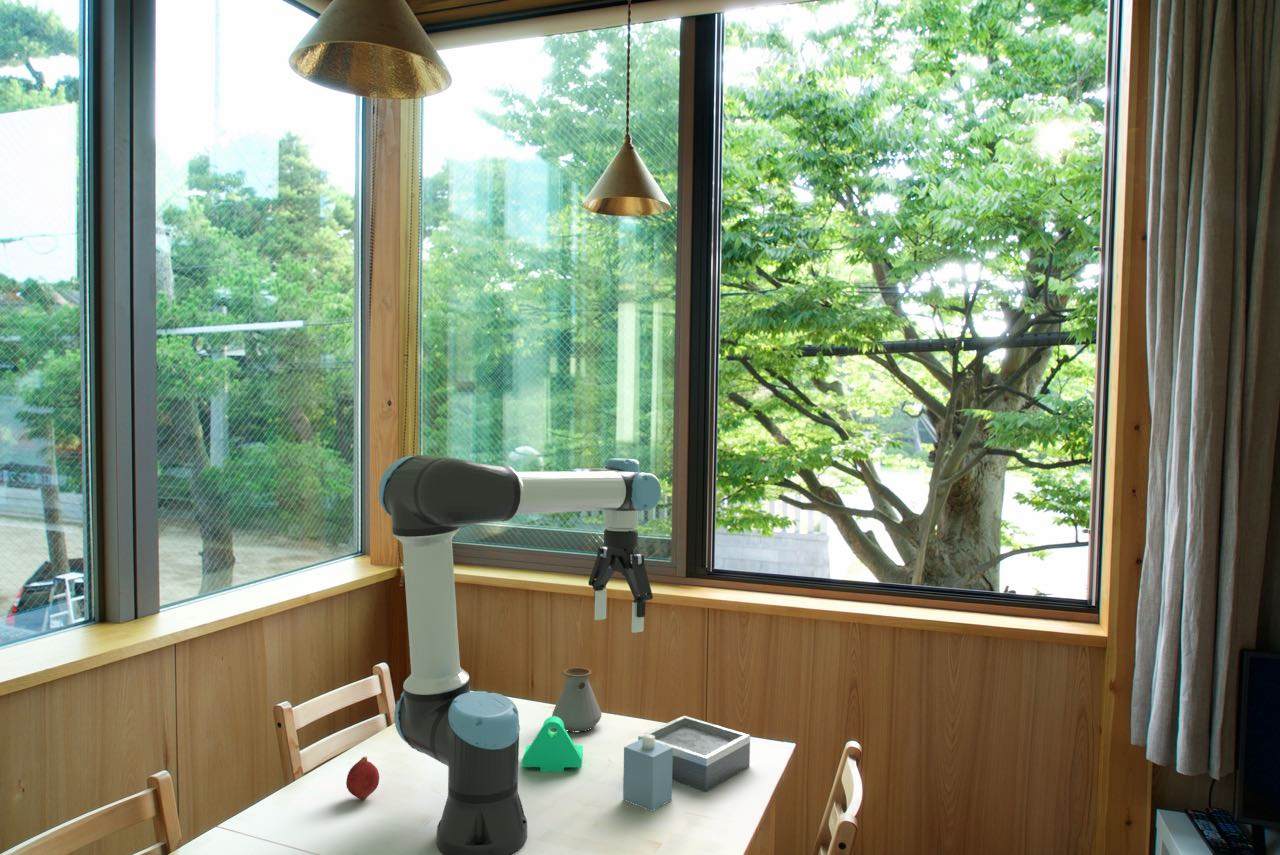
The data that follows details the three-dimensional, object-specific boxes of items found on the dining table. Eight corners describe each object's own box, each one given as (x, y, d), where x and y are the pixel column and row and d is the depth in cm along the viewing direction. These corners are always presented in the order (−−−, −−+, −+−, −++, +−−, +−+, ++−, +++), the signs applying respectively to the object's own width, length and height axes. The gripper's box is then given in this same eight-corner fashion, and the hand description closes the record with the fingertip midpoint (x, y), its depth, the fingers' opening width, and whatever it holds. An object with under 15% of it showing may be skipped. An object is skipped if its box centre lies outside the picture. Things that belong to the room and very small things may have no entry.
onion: (344, 808, 151) (345, 764, 151) (347, 794, 156) (347, 751, 156) (378, 804, 152) (379, 761, 152) (379, 791, 158) (380, 749, 158)
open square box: (705, 792, 160) (706, 758, 160) (637, 767, 171) (638, 736, 171) (749, 766, 172) (750, 735, 172) (683, 744, 183) (683, 715, 183)
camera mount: (582, 757, 176) (583, 709, 176) (581, 772, 168) (582, 722, 168) (526, 757, 175) (527, 708, 175) (522, 772, 168) (522, 721, 168)
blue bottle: (652, 811, 152) (653, 746, 152) (623, 799, 156) (624, 736, 156) (671, 800, 156) (673, 736, 156) (642, 789, 161) (644, 727, 161)
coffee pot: (551, 718, 198) (552, 655, 198) (598, 716, 199) (600, 654, 199) (554, 754, 177) (556, 684, 177) (608, 752, 178) (609, 682, 178)
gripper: (670, 534, 174) (668, 635, 174) (601, 521, 194) (599, 612, 194) (643, 536, 170) (640, 640, 170) (575, 523, 189) (572, 616, 189)
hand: (618, 625), depth 182 cm, fingers open, 13 cm apart
